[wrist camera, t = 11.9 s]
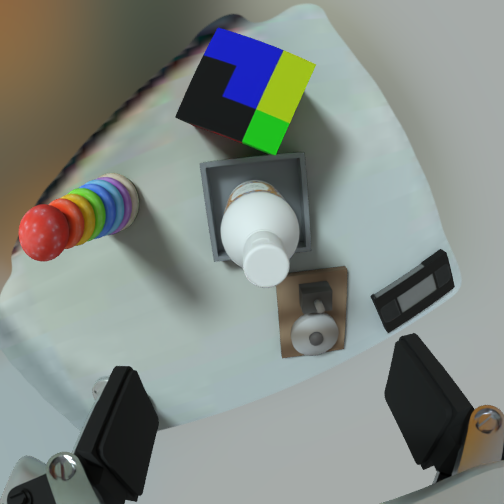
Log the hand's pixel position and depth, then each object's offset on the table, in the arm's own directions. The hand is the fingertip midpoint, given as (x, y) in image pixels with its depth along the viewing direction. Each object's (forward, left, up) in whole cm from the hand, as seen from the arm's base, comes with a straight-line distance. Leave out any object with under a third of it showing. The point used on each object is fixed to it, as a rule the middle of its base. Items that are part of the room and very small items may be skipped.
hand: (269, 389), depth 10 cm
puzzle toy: (+14, -1, -31) cm, 34 cm away
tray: (+1, -1, -30) cm, 30 cm away
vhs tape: (-15, -25, -31) cm, 42 cm away
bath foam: (+1, -1, -30) cm, 30 cm away
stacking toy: (+4, +18, -31) cm, 36 cm away
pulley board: (-16, -7, -30) cm, 35 cm away
